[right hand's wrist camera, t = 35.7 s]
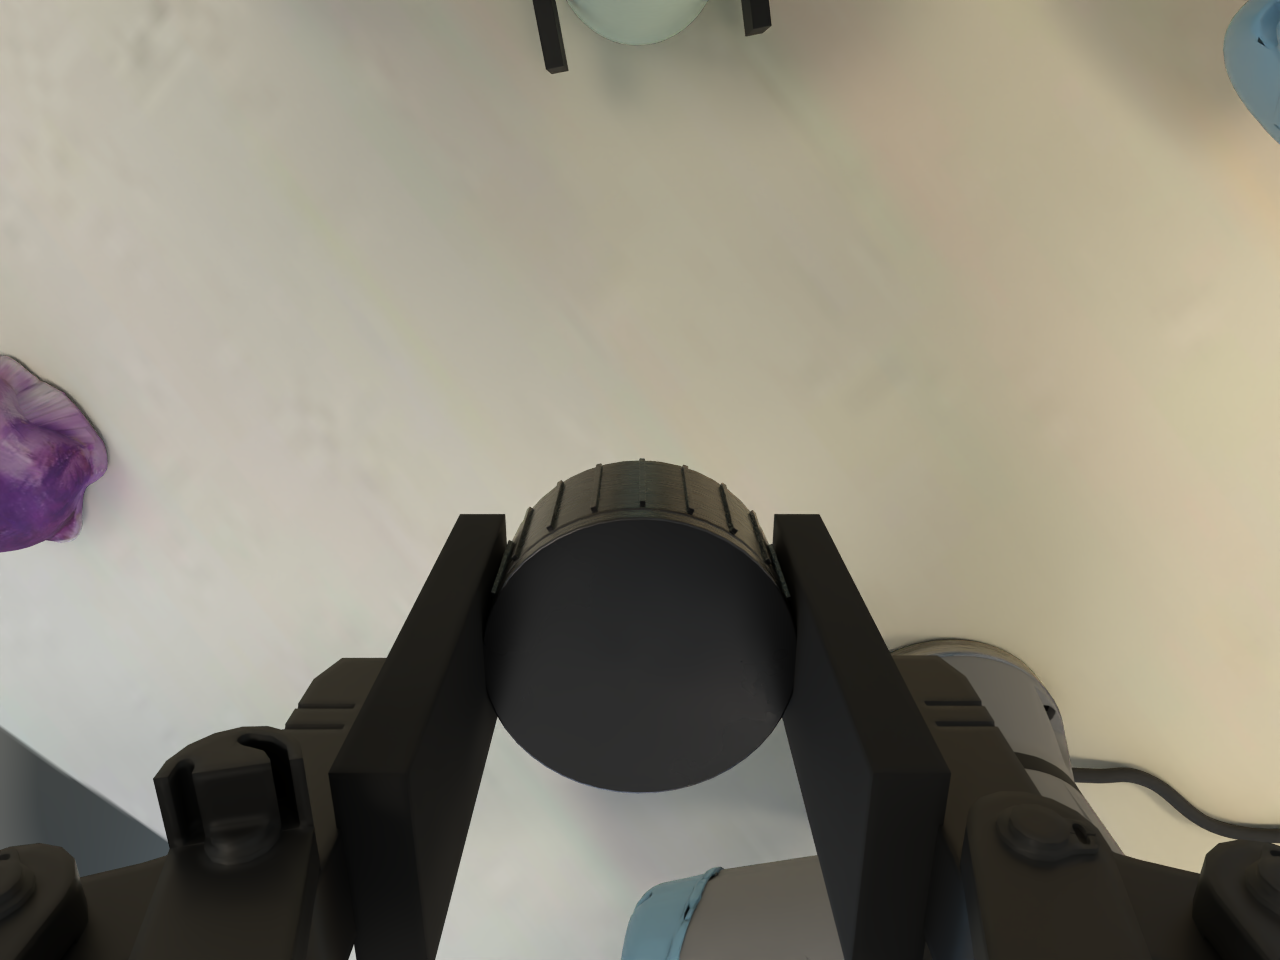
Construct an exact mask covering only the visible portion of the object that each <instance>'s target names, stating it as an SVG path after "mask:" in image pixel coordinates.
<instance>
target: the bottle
mask: <svg viewBox="0 0 1280 960" xmlns="http://www.w3.org/2000/svg"><path fill="white" fill-rule="evenodd" d="M707 1H708V0H567V2H568V3H569V5H570V7H571V8H572V10H573V11H574V12H575V14H576V15H577V16H578V17H579V18H580V19H581V20H582V22H583V23H584V24H585V25H587V26H588V27H589V28H590V29H592V30H593V31H594V32H596V33H597V34H599V35H601V36H602V37H604V38H607V39H609V40H611V41H614V42H618V43H621V44H627V45H648V44H654V43H657V42H661V41H664V40H666V39H668V38H670V37H672V36H674V35H676V34H677V33H679V32H680V31H682V30H683V29H685V28H686V27H687V26H688V25H689V24H690V23H691V22H692V21H693V20H694V19H695V18H696V17H697V16H698V15H699V14H700V12H701V11H702V9H703V8H704V6H705V5H706V3H707Z"/></svg>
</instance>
